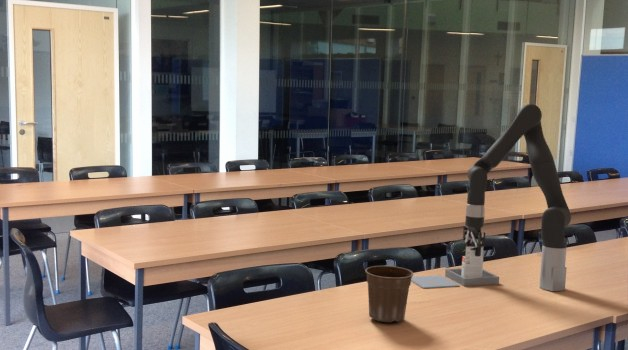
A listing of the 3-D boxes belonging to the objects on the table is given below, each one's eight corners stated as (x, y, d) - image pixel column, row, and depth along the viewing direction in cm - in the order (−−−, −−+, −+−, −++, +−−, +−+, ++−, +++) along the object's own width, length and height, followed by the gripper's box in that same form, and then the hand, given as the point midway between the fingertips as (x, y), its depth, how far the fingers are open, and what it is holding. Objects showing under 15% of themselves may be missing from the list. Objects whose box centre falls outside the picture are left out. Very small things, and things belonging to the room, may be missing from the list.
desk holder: (498, 284, 289) (499, 276, 289) (463, 286, 284) (464, 278, 284) (478, 274, 304) (479, 267, 304) (445, 275, 299) (445, 269, 299)
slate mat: (459, 286, 284) (459, 285, 284) (423, 288, 279) (423, 287, 279) (440, 276, 299) (440, 275, 299) (406, 278, 294) (406, 276, 294)
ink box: (460, 278, 296) (462, 244, 294) (479, 278, 297) (481, 244, 295) (463, 281, 292) (465, 246, 290) (482, 281, 293) (484, 246, 291)
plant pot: (414, 312, 248) (416, 267, 246) (407, 327, 232) (409, 279, 230) (368, 307, 252) (370, 263, 250) (359, 321, 237) (360, 274, 235)
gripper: (492, 217, 285) (489, 257, 287) (474, 211, 299) (472, 249, 301) (475, 218, 283) (473, 258, 285) (458, 212, 297) (456, 250, 299)
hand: (472, 254), depth 293 cm, fingers open, 7 cm apart
